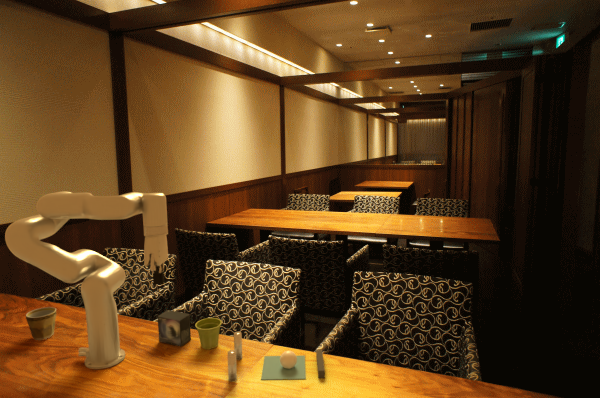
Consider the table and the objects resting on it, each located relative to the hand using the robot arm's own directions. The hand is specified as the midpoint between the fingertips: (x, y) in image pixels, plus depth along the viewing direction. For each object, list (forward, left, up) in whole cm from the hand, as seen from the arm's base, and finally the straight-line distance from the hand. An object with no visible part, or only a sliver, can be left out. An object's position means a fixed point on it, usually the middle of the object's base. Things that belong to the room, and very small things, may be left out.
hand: (159, 283), depth 134 cm
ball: (+44, -7, -24) cm, 50 cm away
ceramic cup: (-54, +19, -27) cm, 63 cm away
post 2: (+26, 0, -27) cm, 38 cm away
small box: (0, +13, -27) cm, 30 cm away
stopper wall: (+54, -6, -27) cm, 61 cm away
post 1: (+26, -13, -27) cm, 40 cm away
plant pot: (+14, +9, -27) cm, 32 cm away
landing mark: (+42, -6, -27) cm, 50 cm away
